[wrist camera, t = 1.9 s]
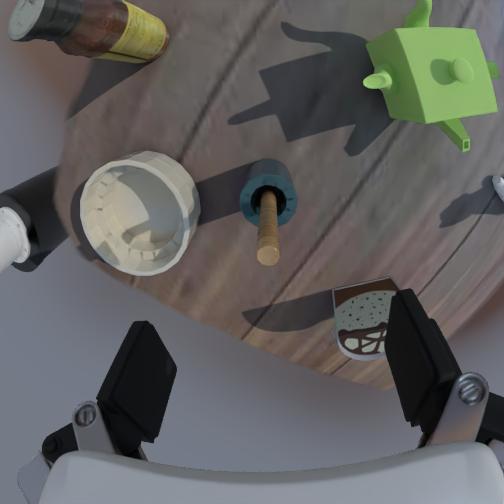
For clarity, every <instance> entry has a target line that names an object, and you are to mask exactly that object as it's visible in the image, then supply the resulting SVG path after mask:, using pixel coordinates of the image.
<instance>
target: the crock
mask: <svg viewBox="0 0 504 504" xmlns="http://www.w3.org/2000/svg"><path fill="white" fill-rule="evenodd" d="M264 185H272V186H275V193H276V206H277V220H278V227H279V226H281V225H284V224H286V223H287V222H288V221H289V220H290V219H291V217H292V216H293V215H294V214H295V212H296V208H297V201H298V197H297V194H296V190H295V187H294V184H293V181H292V178H291V175H290V173H289V171H288V169H287V167H286V166H285V165H284V164H283V163H281V162H280V161H277V160H275V159H262V160H259V161H257V162H256V163H254V164H253V165H252V166H251V167H250V169H249V170H248V172H247V174H246V177H245V180H244V183H243V186H242V189H241V192H240V205H239V206H240V209H241V211H242V213H243V215H244V216H245V218H246V220H248V221H249V222H251V223H252V224H254V225H255V226H257V227H259V217H260V205H261V192H262V186H264Z"/></svg>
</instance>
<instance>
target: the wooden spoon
mask: <svg viewBox="0 0 504 504" xmlns="http://www.w3.org/2000/svg"><path fill="white" fill-rule="evenodd" d="M256 257H257V260H258V261H259V262H260V263H261V264H263V265H266V266H271V265H274V264H275V263H277V262H278V260H279V258H280V251H279V235H278V220H277V206H276V193H275V186H272V185H264V186H262V192H261V205H260V217H259V229H258V241H257V254H256Z"/></svg>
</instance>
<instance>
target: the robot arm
mask: <svg viewBox="0 0 504 504" xmlns="http://www.w3.org/2000/svg"><path fill="white" fill-rule="evenodd" d="M29 255H30V239H29V235H28V232H27V229H26V227H25V225H24V223H23V221H22V220H21V218H20V217H19V215H18V214H17V213H16V212H15V211H14V210H12V209H11V208H9V207H2V208H0V273H2V272H3V271H4V270H5V269H6V268H7V267H8V266H9V265H10V264H11V263H12V262H17V263H22V262H24V261H25V260H26V259H27V258H28V257H29ZM384 350H385V353H386V356H387V359H388V362H389V366H390V369H391V372H392V375H393V378H394V381H395V385H396V388H397V391H398V395H399V398H400V401H401V405H402V409H403V412H404V416H405V419H406V421H407V422H409V421H410V422H411V426H412V427H414V426H418V425H420V427H421V431H422V432H423V434H422V436H421V438H420V440H419V442H418V444H417V446H416V447H415V449H414V450H411V451H407V452H403V453H399V454H396V455H392V456H388V457H383V458H379V459H374V460H369V461H364V462H359V463H354V464H349V465H342V466H337V467H329V468H321V469H312V470H301V471H287V472H286V471H285V472H228V471H213V470H202V469H193V468H185V467H177V466H170V465H164V464H159V463H154V462H149V461H148V460H147V458H146V456H145V454H144V452H143V450H142V448H141V446H140V445H141V441H143V442H149V443H154V439H155V438H156V437H158V435H159V432H160V428H161V424H162V421H163V417H164V414H165V410H166V406H167V403H168V400H169V396H170V393H171V389H172V386H173V383H174V379H175V376H176V372H177V367H176V364H175V362H174V361H173V359H172V357H171V356H170V354H169V352H168V351H167V349H166V347H165V346H164V344H163V342H162V340H161V338H160V337H159V335H158V333H157V331H156V330H155V328H154V326H153V325H152V324H150V323H149V322H148V321H135V322H133V324H132V325H131V327H130V329H129V331H128V333H127V335H126V337H125V339H124V341H123V343H122V345H121V347H120V349H119V351H118V353H117V355H116V357H115V359H114V361H113V363H112V365H111V367H110V369H109V371H108V373H107V375H106V378H105V380H104V382H103V384H102V386H101V388H100V391H99V393H98V395H97V397H96V399H97V400H98V401H97V404H96V403H95V402H92V401H85V402H82V403H81V404H79V405H78V406H77V407H76V408H75V410H74V412H73V415H72V423H70V424H68V425H67V426H65V427H63V428H61V429H59V430H58V431H56V432H54V433H52V434H50V435H49V436H47V437H46V439H45V440H44V442H43V445H42V452H40V451H39V452H38V453H37V454H36V455H35V456H34V457H33V458H32V459H31V460H30V461H29V462H28V463H27V464H26V465H25V466H24V467H23V468H22V469H21V470H20V471H19V473H18V476H17V482H18V485H19V487H20V489H21V491H22V493H23V495H24V496H25V498H26V500H27V502H28V504H504V476H503V473H502V470H503V472H504V397H501V396H499V395H496V394H494V393H491V392H489V386H488V383H487V382H486V379H485V378H484V377H483V376H482V375H479V374H478V373H474V372H468V373H464V374H462V372H461V370H460V368H459V366H458V364H457V362H456V359H455V357H454V355H453V354H452V351H451V349H450V347H449V345H448V343H447V342H446V340H445V338H444V336H443V334H442V332H441V330H440V328H439V327H438V325H437V323H436V322H435V320H434V319H432V318H430V319H429V318H428V316H427V314H426V312H425V311H424V309H423V307H422V305H421V304H420V302H419V300H418V298H417V297H416V295H415V293H414V292H413V290H412V289H410V288H409V289H404V290H399V291H397V292H396V294H395V295H394V296H392V298H391V305H390V312H389V319H388V325H387V331H386V336H385V342H384ZM501 469H502V470H501Z"/></svg>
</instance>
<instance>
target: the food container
mask: <svg viewBox="0 0 504 504" xmlns="http://www.w3.org/2000/svg"><path fill="white" fill-rule="evenodd" d="M399 290H402V289H401V288H400V287H399V285H398V284H397V283H396V282H395V280H394V279H393V278H392V276H389V277H385V278H380V279H376V280H372V281H367V282H363V283H358V284H354V285H349V286H344V287H340V288H335V289H332V296H333V305H334V315H335V326H336V336H335V335H334V333H333V331H332V330H331V334H332V337H333V339H334V341H335V343H336V344H337V346H338V348H339V349H340V350H341V351H342V352H343V353H344V354H345V355H347V356H348V357H350V358H353V359H357V360H375V359H379V358H383V357H386V353H385V350H384V342H385V336H386V331H387V325H388V319H389V312H390V305H391V298H392V296H394V295H395V294H396V292H397V291H399Z"/></svg>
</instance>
